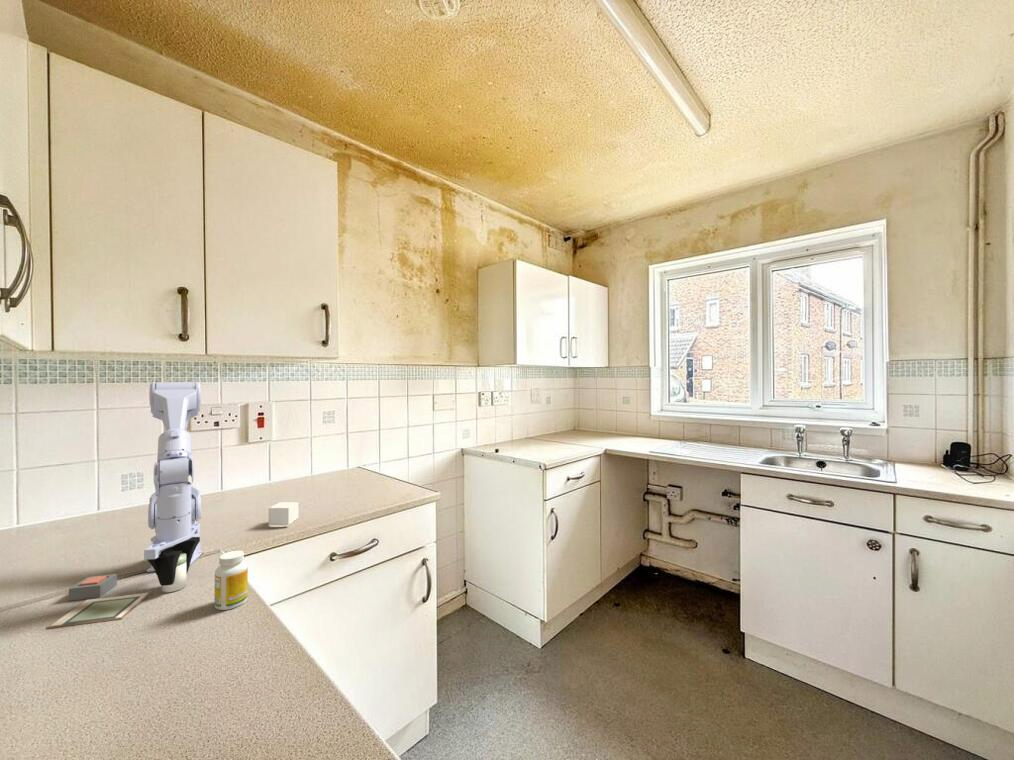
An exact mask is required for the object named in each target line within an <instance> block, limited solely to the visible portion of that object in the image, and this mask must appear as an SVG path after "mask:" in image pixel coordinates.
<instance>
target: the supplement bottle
mask: <svg viewBox="0 0 1014 760" xmlns="http://www.w3.org/2000/svg"><path fill="white" fill-rule="evenodd" d="M218 558H219V560H218V564H219V566H218V567H217V568H216V569H215V571H214V608H215V609H216V610H218V611H227V610H231V609H235V608H238V607H240V606H242V605H244V604H245V602H246V601H247V600H248V581H249V578H248V577H249V576H248V572H249V571H248V568H249V567H248V563H247V562H246V561H244V559H245V552H244V551H243V550H232V551H228V552H225V553H222V554H221V555H219V557H218Z"/></svg>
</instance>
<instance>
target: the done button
mask: <svg viewBox="0 0 1014 760" xmlns="http://www.w3.org/2000/svg"><path fill="white" fill-rule="evenodd" d="M99 576H100V577H93V576H90V577H91V578H89V579H87V580H86V581H84V582H83V583H81V584H80V586H85V585H94V584H99V583H100V582H102V581H103V580H105V579H106V578H107V576H102V575H99Z"/></svg>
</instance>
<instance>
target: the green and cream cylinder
mask: <svg viewBox="0 0 1014 760" xmlns="http://www.w3.org/2000/svg"><path fill="white" fill-rule="evenodd" d="M186 586H187V574H186V553H181V554H180V556H179V559H178V562H177V566H176V573H175V580H174V583H173V584H172V585H164V586H161V591H162V592H163V593H173V592H176V591H179V590H181V589H184V588H185V587H186Z"/></svg>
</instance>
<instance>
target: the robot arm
mask: <svg viewBox="0 0 1014 760" xmlns="http://www.w3.org/2000/svg"><path fill="white" fill-rule="evenodd" d="M201 386H202V385H201V383H200V382H199V381H195V382H193V381H192V382H191V381H190V382H189V381H188V382H187V381H184V382H183V381H177V382H175V381H174V382H172V381H171V382H166V381H164V382H162V381H159V382H158V381H157V382H156V381H152V382H151V383H150V384H149V393H148V394H149V398H148V399H149V406H150V413H151V414H152V417H153V418H155V419H157V420H160V421H162V424H163V426H164V429H165V431H164V432H163V433H161V434H160V435H159V436H158V438H157V439H158V440H157V459H156V462H154V465H153V485H154V488H155V490H154V491H155V492H153V493H152V494H150V497H149V501H148V502H149V503H148V510H147V524H148V528H149V529H151V530H154V532H155V535H154V536H152V537H151V538H150V541H151V544H150V545H149V546H148V547H147V548H145V549H143V560H144V561H145V560H146V561H147V562H148V563H149V564H150V565H151V566H150V567H149V568H147V569H146V572H147V573H149V572H151V573H152V572H155V574H156V577H157V580H158V582H159V585H160V587H162V586H164V585H172V584H173V583H174V580H175V573H176V566H177V562H178V559H179V556H180V554H181V553H186V575H187V574H188V572H189V568H190V565H191V564H193V563H194V562H195V561H196V560H197V559H199V557H201V556H202V555H201V553H200V554H197V553H198V552H202V550H203V551H205V549H201V523H197V522H199V521H200V520H201V518H202V497H201V491H200V489H199V488H198V487H196V486H194V485H192V484H193V483H194V479H195V462H194V456H193V452H192V435H191V434H190V432H188V431H187V428H188V425H189V423H190V420H191V419H193V418H195V417H197V416H199V412H200V408H201V399H202V397H201V393H202V391H201V388H202V387H201ZM189 476H190V477H191V482H190V481H189ZM200 555H201V556H200Z"/></svg>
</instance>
